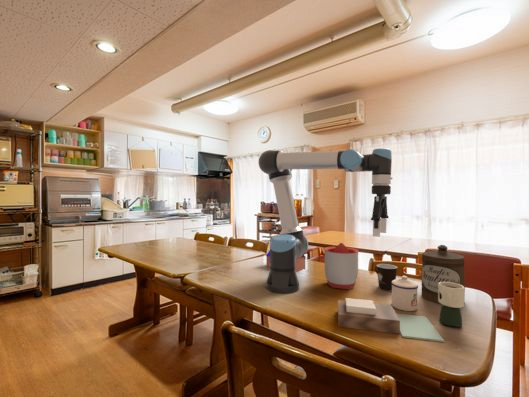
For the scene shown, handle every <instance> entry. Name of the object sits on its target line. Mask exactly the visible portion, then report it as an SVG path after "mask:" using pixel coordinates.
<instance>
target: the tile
mask: <svg viewBox="0 0 529 397" xmlns="http://www.w3.org/2000/svg"><path fill="white" fill-rule="evenodd" d="M345 301H346V312H353V313H362V314H372V315H376V307H375V305H374V304H375V303H374V300H370V299H361V298H360V299H359V298H349V297H346V298H345Z"/></svg>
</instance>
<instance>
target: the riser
mask: <svg viewBox="0 0 529 397" xmlns="http://www.w3.org/2000/svg"><path fill="white" fill-rule="evenodd" d="M374 305H375V307H376V315H372V314H362V313H353V312H346V300H338V301H337V318H338V319H337V322H338V327H339V328H347V329H348V328H349V329H357V330H363V331H374V332H382V333H389V334H399V335H401V333H400V320H399V318H398V316H397V314H398V313H396V311H395V309H394V307H393V306H392V304H391V305H389V304H381V303H374Z"/></svg>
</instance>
